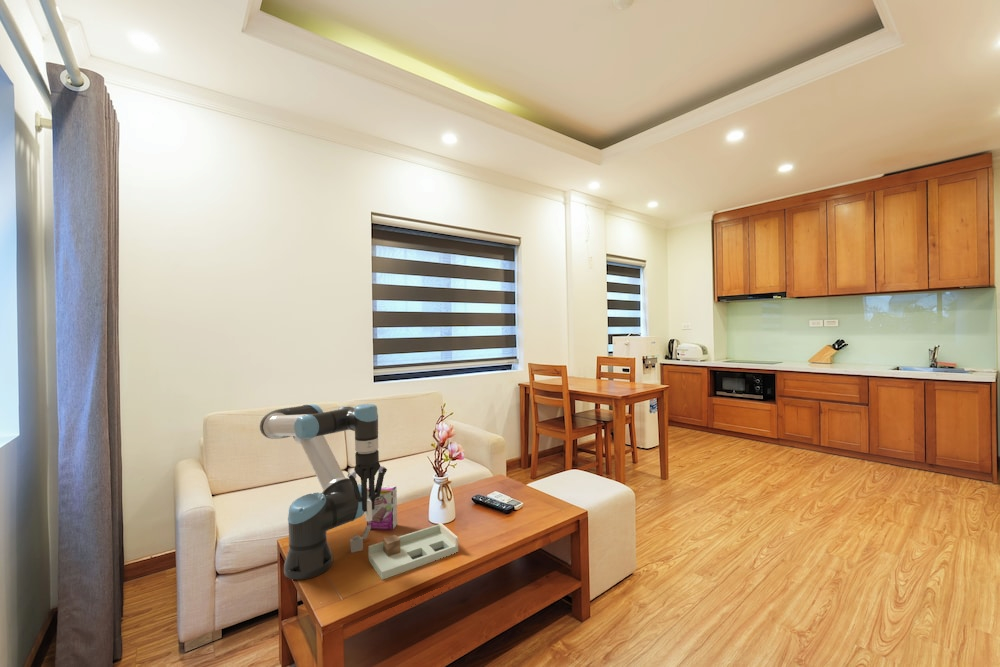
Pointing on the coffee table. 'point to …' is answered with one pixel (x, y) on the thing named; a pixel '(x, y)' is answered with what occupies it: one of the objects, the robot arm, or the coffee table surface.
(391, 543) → the block
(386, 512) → the candy bar box
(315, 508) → the robot arm
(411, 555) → the board
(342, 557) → the coffee table surface
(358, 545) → the lighter
